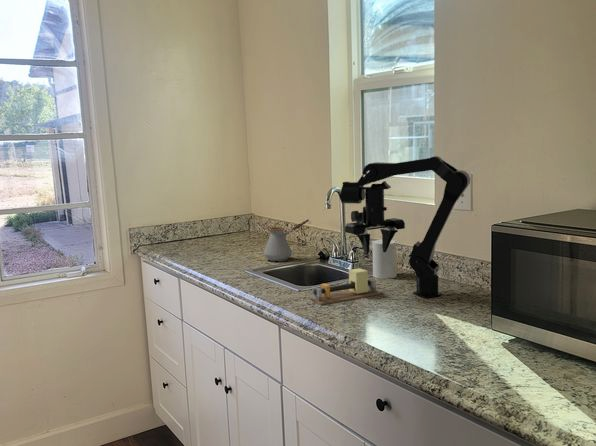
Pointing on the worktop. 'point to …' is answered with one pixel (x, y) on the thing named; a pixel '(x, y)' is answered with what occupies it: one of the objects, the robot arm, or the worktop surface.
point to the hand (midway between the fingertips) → (375, 253)
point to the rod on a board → (342, 293)
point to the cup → (384, 260)
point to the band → (326, 290)
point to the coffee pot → (279, 244)
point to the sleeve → (358, 280)
